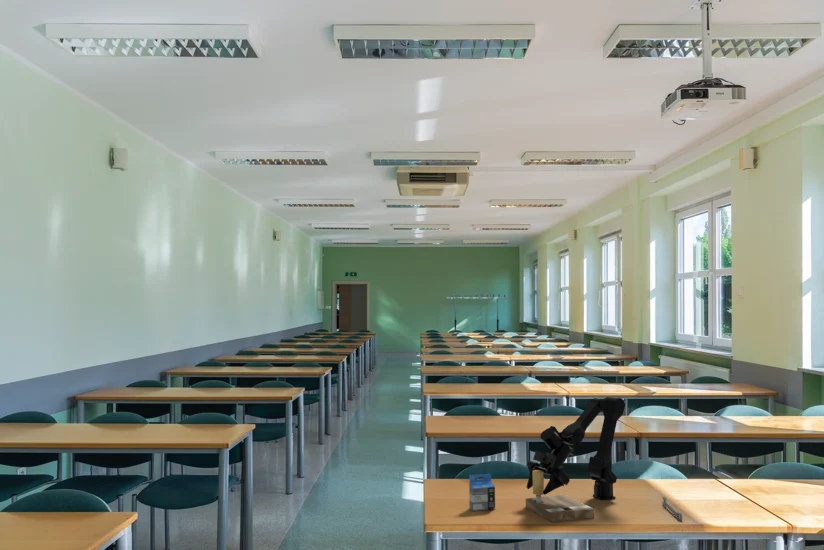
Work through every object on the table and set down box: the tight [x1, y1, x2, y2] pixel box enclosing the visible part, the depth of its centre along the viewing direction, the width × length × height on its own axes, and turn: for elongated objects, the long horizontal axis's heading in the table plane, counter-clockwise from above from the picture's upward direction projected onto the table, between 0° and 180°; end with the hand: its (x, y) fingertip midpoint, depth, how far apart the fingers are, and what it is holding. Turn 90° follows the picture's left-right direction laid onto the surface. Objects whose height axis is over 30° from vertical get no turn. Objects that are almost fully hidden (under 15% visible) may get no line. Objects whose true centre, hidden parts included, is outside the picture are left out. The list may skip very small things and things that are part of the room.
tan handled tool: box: [532, 470, 545, 503], centre depth 249 cm, size 4×4×14 cm
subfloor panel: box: [525, 494, 595, 523], centre depth 246 cm, size 16×20×3 cm
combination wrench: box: [661, 495, 683, 522], centre depth 244 cm, size 4×1×20 cm
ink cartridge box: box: [468, 473, 496, 512], centre depth 251 cm, size 9×4×12 cm, turn 105°
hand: (535, 491), depth 248 cm, fingers open, 9 cm apart
